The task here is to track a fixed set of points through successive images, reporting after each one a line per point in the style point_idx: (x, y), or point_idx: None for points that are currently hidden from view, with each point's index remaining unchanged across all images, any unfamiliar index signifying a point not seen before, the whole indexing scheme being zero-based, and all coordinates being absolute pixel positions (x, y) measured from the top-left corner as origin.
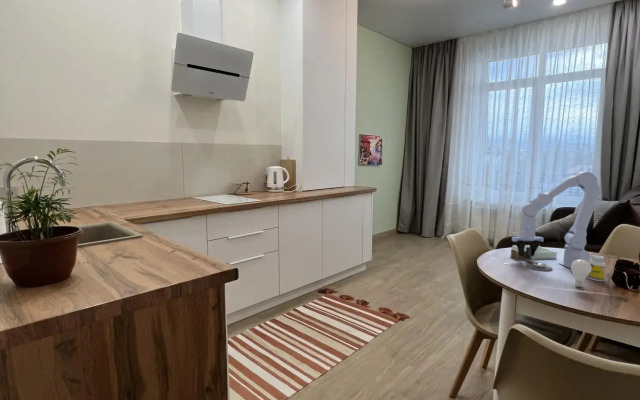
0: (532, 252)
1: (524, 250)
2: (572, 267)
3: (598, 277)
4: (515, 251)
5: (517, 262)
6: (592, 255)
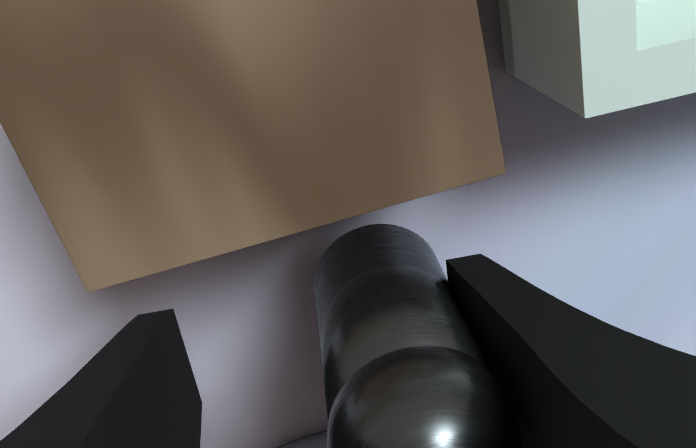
0: None
1: (408, 89)
2: None
3: None
4: (46, 185)
5: None
6: None
